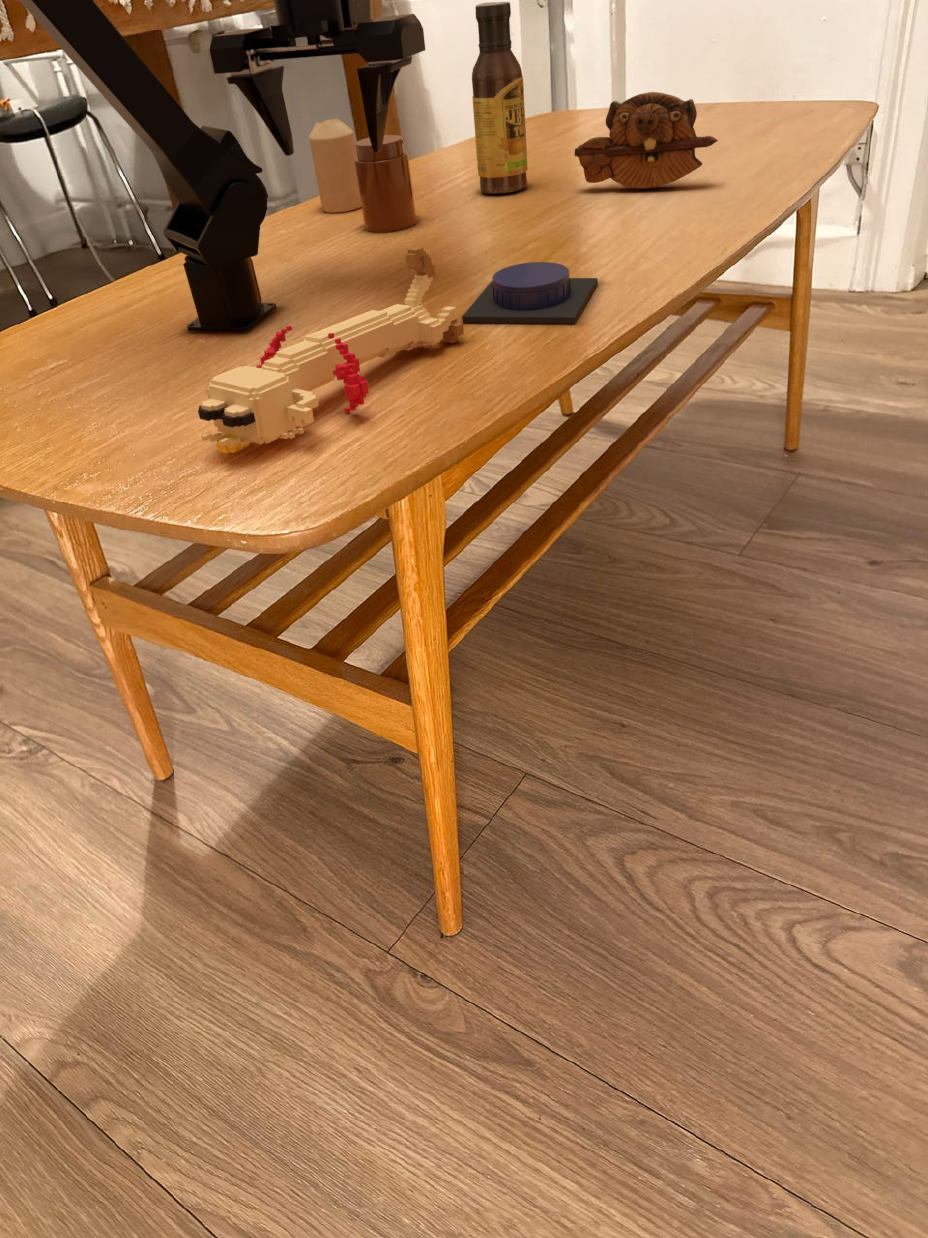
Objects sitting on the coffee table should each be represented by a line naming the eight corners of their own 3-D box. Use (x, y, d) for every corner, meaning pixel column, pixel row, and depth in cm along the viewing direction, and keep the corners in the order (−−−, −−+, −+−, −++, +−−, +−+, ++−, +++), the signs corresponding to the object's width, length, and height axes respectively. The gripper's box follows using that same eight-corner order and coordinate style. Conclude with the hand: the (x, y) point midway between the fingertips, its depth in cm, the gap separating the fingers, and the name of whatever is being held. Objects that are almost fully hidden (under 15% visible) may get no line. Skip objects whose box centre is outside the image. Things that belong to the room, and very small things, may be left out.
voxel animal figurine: (393, 342, 81) (168, 441, 65) (383, 238, 76) (137, 316, 60) (485, 359, 76) (266, 470, 60) (480, 248, 71) (240, 336, 55)
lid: (514, 281, 86) (513, 259, 84) (582, 286, 83) (582, 263, 81) (480, 307, 81) (477, 284, 80) (550, 313, 78) (549, 289, 77)
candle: (357, 211, 115) (343, 123, 109) (316, 214, 117) (300, 126, 111) (369, 200, 120) (356, 114, 114) (330, 202, 121) (314, 117, 115)
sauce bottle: (518, 196, 113) (506, 3, 101) (472, 196, 115) (455, 8, 103) (536, 182, 118) (526, -3, 106) (491, 183, 120) (476, 1, 108)
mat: (574, 324, 77) (574, 317, 77) (462, 323, 80) (461, 316, 80) (597, 284, 84) (597, 277, 84) (494, 284, 87) (493, 278, 87)
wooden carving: (573, 197, 110) (570, 103, 104) (578, 187, 113) (576, 96, 107) (714, 189, 106) (720, 91, 100) (715, 180, 109) (721, 84, 103)
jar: (407, 231, 106) (395, 144, 100) (357, 233, 107) (343, 147, 102) (423, 216, 110) (413, 132, 105) (375, 218, 112) (363, 135, 106)
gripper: (436, -72, 79) (455, 130, 88) (250, -49, 85) (286, 138, 94) (385, -65, 71) (412, 157, 80) (183, -40, 77) (230, 163, 86)
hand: (333, 152), depth 85 cm, fingers open, 9 cm apart
